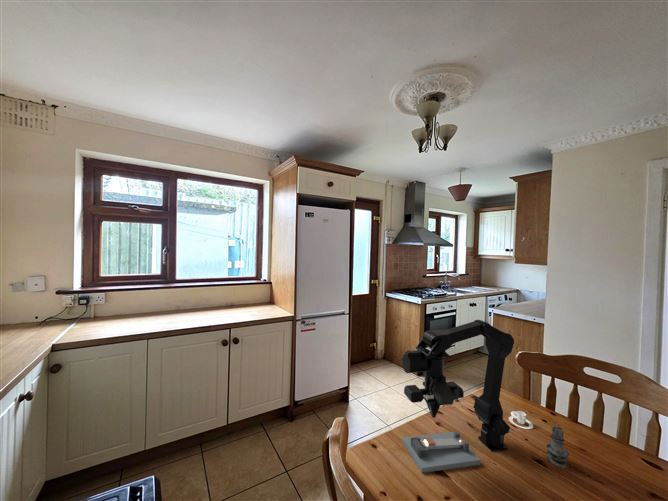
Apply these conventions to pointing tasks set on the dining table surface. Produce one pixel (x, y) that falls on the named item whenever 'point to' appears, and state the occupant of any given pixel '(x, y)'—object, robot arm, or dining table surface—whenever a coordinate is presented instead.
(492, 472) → the dining table surface
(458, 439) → the light grey long bar
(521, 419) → the teacup and saucer
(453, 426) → the dining table surface
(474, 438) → the dining table surface
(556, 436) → the grey tiered tower figurine
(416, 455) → the base plate
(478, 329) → the robot arm
